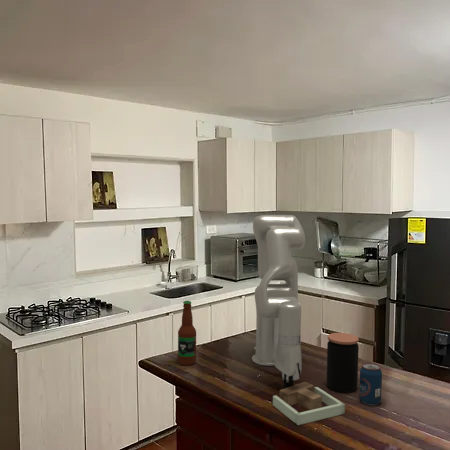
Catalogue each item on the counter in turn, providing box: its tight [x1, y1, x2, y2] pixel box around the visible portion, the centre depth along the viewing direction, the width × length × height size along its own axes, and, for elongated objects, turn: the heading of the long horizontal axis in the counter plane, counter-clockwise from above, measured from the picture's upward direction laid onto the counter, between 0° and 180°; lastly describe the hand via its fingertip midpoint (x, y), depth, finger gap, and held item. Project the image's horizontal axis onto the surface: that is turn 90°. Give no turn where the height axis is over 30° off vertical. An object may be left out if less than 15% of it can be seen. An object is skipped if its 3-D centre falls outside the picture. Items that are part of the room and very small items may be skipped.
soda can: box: [358, 362, 383, 406], centre depth 149 cm, size 7×7×12 cm
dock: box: [272, 386, 346, 426], centre depth 144 cm, size 14×17×3 cm
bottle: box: [177, 300, 197, 367], centre depth 182 cm, size 7×7×25 cm
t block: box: [278, 381, 323, 411], centre depth 148 cm, size 11×12×4 cm
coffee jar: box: [326, 332, 360, 394], centre depth 161 cm, size 11×11×18 cm
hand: (288, 391), depth 154 cm, fingers closed
